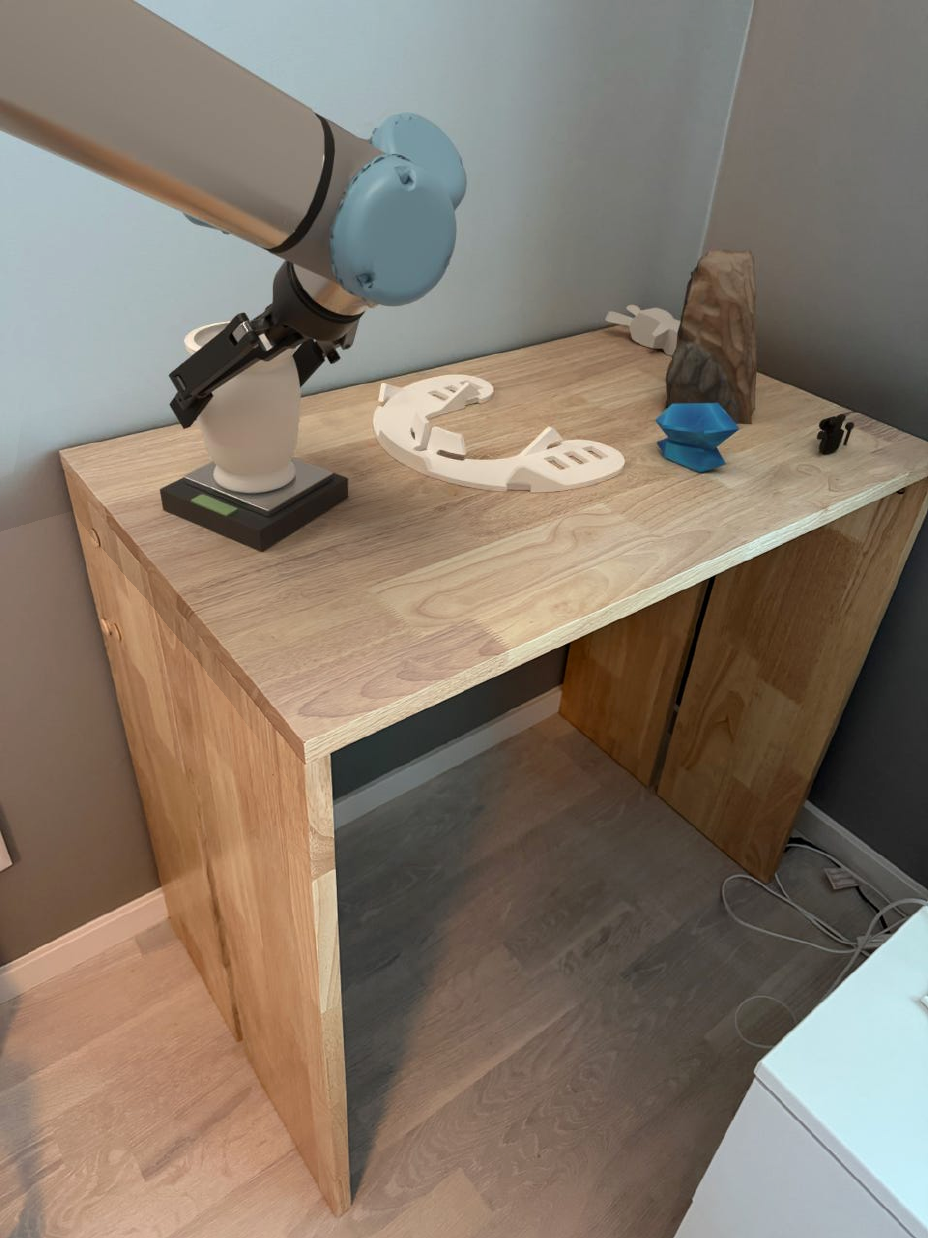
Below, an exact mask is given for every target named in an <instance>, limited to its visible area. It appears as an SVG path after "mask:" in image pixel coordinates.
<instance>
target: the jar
mask: <svg viewBox="0 0 928 1238" xmlns="http://www.w3.org/2000/svg"><path fill="white" fill-rule="evenodd" d="M230 322H231V320H230V321H222V322H216V323H211V324H206V325H203V326H199V327H198V328H195V329H193V330H191V331H190V332H188V333H187V334H186V335H185V336H184V338H183V342H184V347H185V350H186V353H187V354H188V355H189V357H191V356H192V355H193V354H194V353H196V352H197V351H198V350H199V349H200V348H202V347H203V346H204V345H205V344H206V343H208V342H209V341H210V340H211V339H213V338H214V337H215V336H216V335H217V334H219V333H220V332H221V331H222V330H224V329H225V328H226V326H227V325H228V324H229V323H230ZM259 337H260V339H261V341H262V343H263V345H264V346H265V348H266V350H269V349H270V348H272V346H271V345H270V344H269V342H268V340H267V338H266V337H265V335H264V334H262V335H260V336H259ZM296 350H297V347H295V348H293V349H287V350H286V351H284V352H282V353H281V354H279V355H278V356H276V357H275V358H273V359H272V360H270V361H268V362H265V361H263V360H260V361H258V362H257V363H255V364H254V365H252V366H251V367H249V368H248V369H246V370H244V371H243V372H241V373H240V374H238V375H237V376H235V377H234V378H232V379H231V380H229V381H228V382H226V383H225V384H223V385H222V386H220V387H219V388H217V389H215V390H214V391H212V394H213V398H212V399H211V400H210V401H209V403H208V404H207V405H206V407H205V408H204V409H203V411H202V412H201V413H200V415H199V416H198V417H197V419H196V421H197V423H198V427H199V429H200V432H201V436H202V439H203V443H204V446H205V448H206V451H207V452H208V455H209V456H210V458H211V459H212V461H214V462H215V464H216V467H215V469H214V479H215V481H216V482H217V483H218V484H219V485H220V486H222V487H224V488H226V489H228V490H231V491H235V492H241V493H260V492H267V491H272V490H275V489H278V488H281V487H283V486H285V485H286V484H288V483H289V482H290V481H291V480H292V479H293V478H294V476H295V473H296V470H295V467H294V465H293V463H292V462H291V459H292V457H293V458H294V454H295V451H296V449H297V445H298V438H299V425H300V421H301V419H300V418H301V410H302V409H301V408H302V395H301V388H300V383H299V377H298V372H297V368H296V364H295V361H294V358H293V356H292V355H293V353H294V352H295V351H296Z"/></svg>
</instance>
